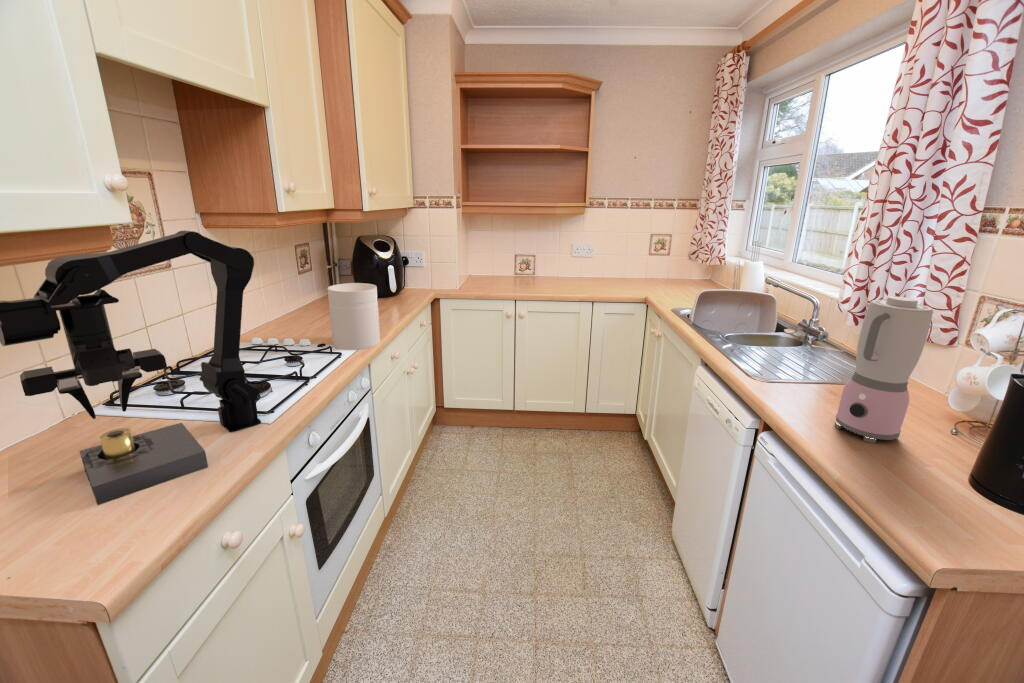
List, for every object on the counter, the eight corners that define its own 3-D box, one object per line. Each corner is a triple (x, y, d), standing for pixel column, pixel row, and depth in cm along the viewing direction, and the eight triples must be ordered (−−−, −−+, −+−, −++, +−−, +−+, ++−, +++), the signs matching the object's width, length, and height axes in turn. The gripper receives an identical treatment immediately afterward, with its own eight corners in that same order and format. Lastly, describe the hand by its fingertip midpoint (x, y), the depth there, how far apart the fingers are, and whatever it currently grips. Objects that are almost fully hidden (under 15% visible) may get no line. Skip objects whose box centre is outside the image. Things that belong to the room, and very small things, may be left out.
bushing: (136, 458, 90) (128, 425, 87) (141, 467, 87) (132, 433, 85) (106, 467, 86) (97, 433, 84) (110, 476, 84) (101, 442, 82)
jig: (184, 437, 98) (181, 422, 96) (208, 467, 87) (205, 450, 86) (83, 467, 86) (79, 450, 85) (97, 505, 76) (92, 487, 75)
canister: (322, 346, 158) (316, 289, 152) (351, 334, 173) (347, 281, 167) (362, 352, 153) (357, 293, 147) (388, 339, 168) (385, 285, 162)
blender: (851, 415, 116) (885, 291, 107) (908, 437, 106) (952, 302, 97) (814, 428, 109) (847, 296, 100) (872, 452, 99) (914, 308, 90)
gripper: (11, 355, 67) (40, 449, 71) (166, 331, 80) (182, 412, 85) (8, 338, 74) (35, 425, 79) (151, 319, 87) (167, 394, 92)
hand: (109, 414), depth 83 cm, fingers open, 4 cm apart
